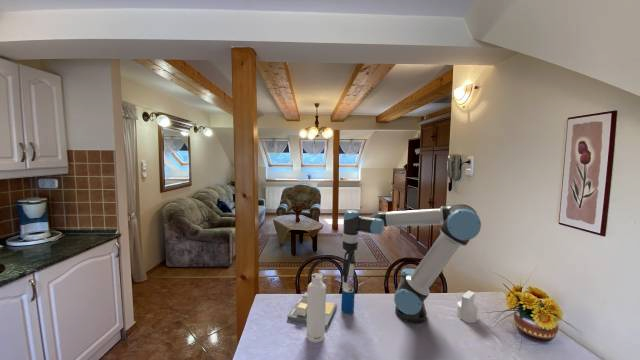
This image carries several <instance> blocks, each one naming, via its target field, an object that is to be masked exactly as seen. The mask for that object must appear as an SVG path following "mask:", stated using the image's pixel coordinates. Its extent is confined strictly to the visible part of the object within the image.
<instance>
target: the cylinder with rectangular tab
mask: <svg viewBox="0 0 640 360" xmlns="http://www.w3.org/2000/svg"><path fill="white" fill-rule="evenodd" d="M475 296H476V295H475V292H474V291H471V290H467V291H466V292H465V293H464V294H463V295H461V300H460V301H457V305H456V306H457V307H456V316H457V318H458V319H460V320H461V319H462V320H461V321H462V322H463V321H464V322H466V323H476V322H477V321H478V312H479V311H478V310H479V309H478V306H477V305H476V304H474V303H475Z"/></svg>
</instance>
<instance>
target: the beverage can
mask: <svg viewBox="0 0 640 360" xmlns="http://www.w3.org/2000/svg"><path fill="white" fill-rule="evenodd" d="M355 293H356V292H355V288H353V287H352V286H348V289H347V288H342V290H341V303H340V305H341V307H340V310H341V312H342V313H343V314H345V315H351V314H353V313H354V312H355Z"/></svg>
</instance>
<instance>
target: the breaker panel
mask: <svg viewBox="0 0 640 360" xmlns="http://www.w3.org/2000/svg"><path fill="white" fill-rule="evenodd" d="M300 302H301V303H303V296H301V297H300V298H299V300H298V301H297V302H296V304H295V305H294V306H293V307H292V310H290V312H289V313H288V315H287V321H291V322H294V323H298V324H303V325H307V314H306V316H301V315H297V307H298V305H299V304H300ZM337 307H338V304H336V303H335V302H334V303H333V302H329V301H326V307H325V330H328V328H329V326H330V324H331V321H332V320H333V317H334V314H335V313H336V310H337Z"/></svg>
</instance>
